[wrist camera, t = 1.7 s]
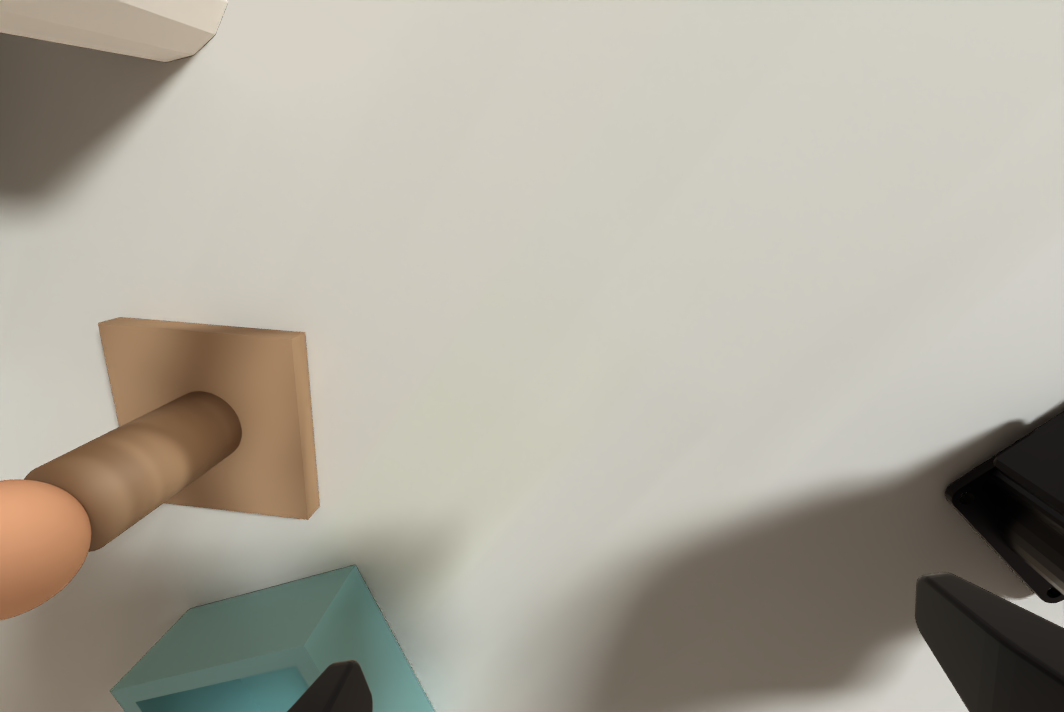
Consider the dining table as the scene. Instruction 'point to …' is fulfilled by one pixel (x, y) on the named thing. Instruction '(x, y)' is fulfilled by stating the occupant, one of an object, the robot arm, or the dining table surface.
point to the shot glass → (118, 24)
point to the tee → (196, 426)
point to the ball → (38, 543)
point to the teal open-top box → (272, 651)
